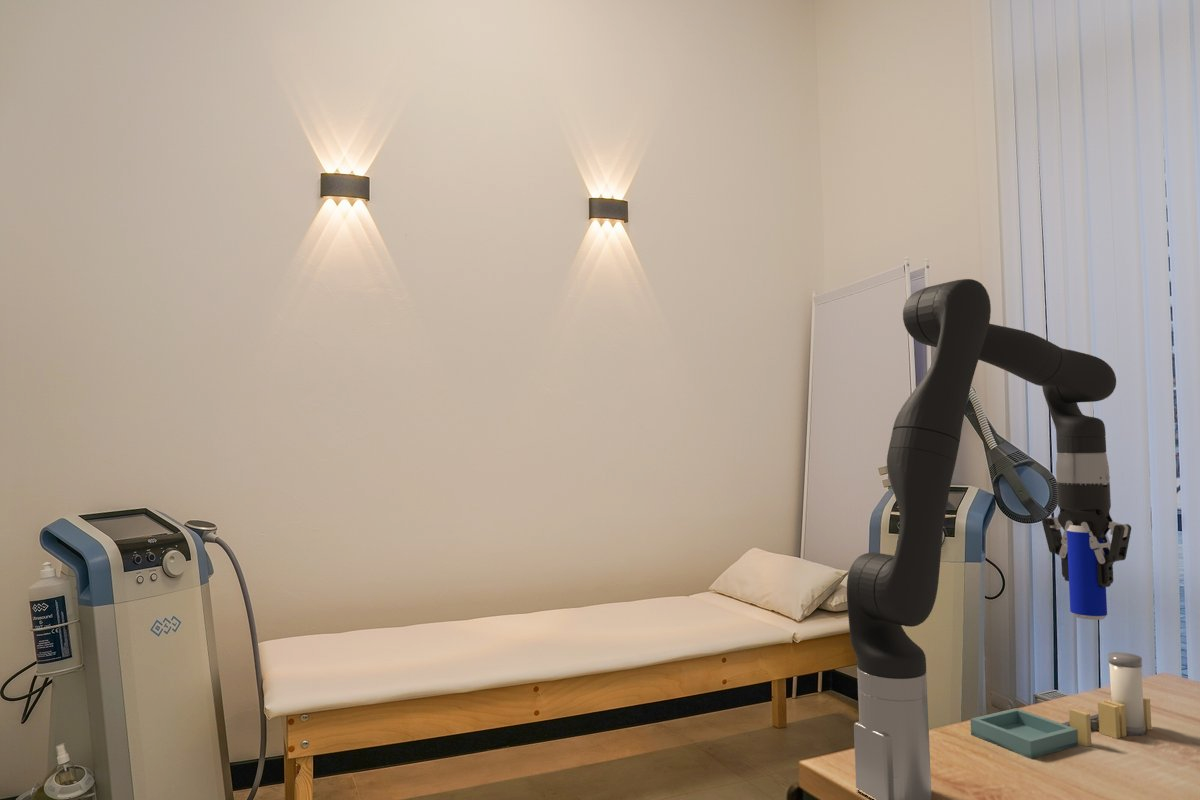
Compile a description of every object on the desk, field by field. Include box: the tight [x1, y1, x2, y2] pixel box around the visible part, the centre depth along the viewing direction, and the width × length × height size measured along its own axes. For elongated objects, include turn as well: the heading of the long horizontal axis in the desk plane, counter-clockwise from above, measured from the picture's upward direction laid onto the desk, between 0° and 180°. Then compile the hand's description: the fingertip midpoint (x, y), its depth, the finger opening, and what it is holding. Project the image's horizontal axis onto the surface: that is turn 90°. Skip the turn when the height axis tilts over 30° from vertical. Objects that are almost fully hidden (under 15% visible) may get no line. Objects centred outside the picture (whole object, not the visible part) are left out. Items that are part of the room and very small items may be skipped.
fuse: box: [1107, 652, 1146, 736], centre depth 131 cm, size 5×5×12 cm
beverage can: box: [1067, 525, 1108, 621], centre depth 129 cm, size 5×5×15 cm
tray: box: [970, 707, 1079, 759], centre depth 128 cm, size 11×11×3 cm
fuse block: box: [1061, 696, 1152, 747], centre depth 130 cm, size 17×6×5 cm, turn 114°
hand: (1087, 583), depth 128 cm, fingers closed on beverage can, 5 cm apart
